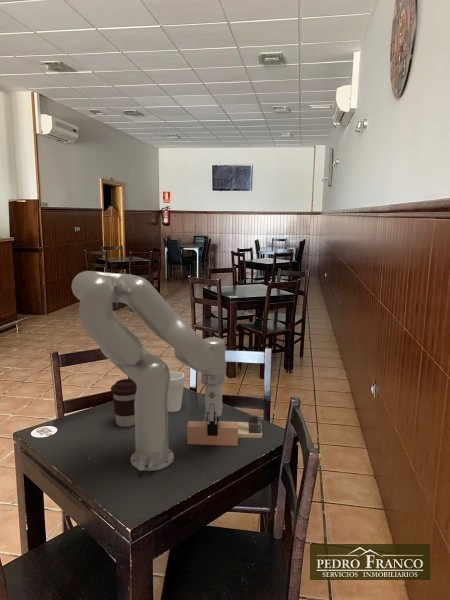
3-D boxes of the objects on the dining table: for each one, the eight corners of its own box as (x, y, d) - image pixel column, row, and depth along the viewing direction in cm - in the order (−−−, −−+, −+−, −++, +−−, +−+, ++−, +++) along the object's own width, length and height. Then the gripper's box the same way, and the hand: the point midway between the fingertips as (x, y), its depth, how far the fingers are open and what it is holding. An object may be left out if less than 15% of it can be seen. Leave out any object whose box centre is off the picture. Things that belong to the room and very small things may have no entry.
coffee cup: (125, 432, 148) (123, 389, 146) (106, 423, 154) (104, 382, 152) (147, 421, 156) (146, 381, 154) (128, 414, 162) (127, 375, 159)
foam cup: (189, 407, 169) (189, 374, 167) (174, 415, 161) (174, 381, 159) (170, 401, 174) (169, 370, 172) (154, 410, 166) (154, 376, 164)
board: (262, 438, 145) (262, 426, 144) (201, 436, 146) (201, 424, 145) (261, 425, 154) (261, 414, 153) (203, 424, 155) (203, 412, 154)
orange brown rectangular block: (237, 446, 140) (237, 428, 139) (187, 444, 141) (187, 426, 140) (237, 439, 144) (238, 422, 143) (188, 438, 145) (188, 421, 144)
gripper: (223, 387, 130) (223, 445, 133) (226, 368, 147) (225, 420, 150) (198, 386, 130) (198, 444, 134) (203, 368, 147) (203, 420, 150)
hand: (213, 431), depth 142 cm, fingers closed on orange brown rectangular block, 4 cm apart
